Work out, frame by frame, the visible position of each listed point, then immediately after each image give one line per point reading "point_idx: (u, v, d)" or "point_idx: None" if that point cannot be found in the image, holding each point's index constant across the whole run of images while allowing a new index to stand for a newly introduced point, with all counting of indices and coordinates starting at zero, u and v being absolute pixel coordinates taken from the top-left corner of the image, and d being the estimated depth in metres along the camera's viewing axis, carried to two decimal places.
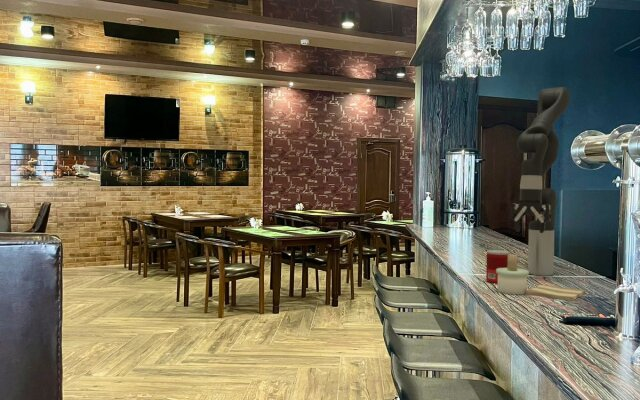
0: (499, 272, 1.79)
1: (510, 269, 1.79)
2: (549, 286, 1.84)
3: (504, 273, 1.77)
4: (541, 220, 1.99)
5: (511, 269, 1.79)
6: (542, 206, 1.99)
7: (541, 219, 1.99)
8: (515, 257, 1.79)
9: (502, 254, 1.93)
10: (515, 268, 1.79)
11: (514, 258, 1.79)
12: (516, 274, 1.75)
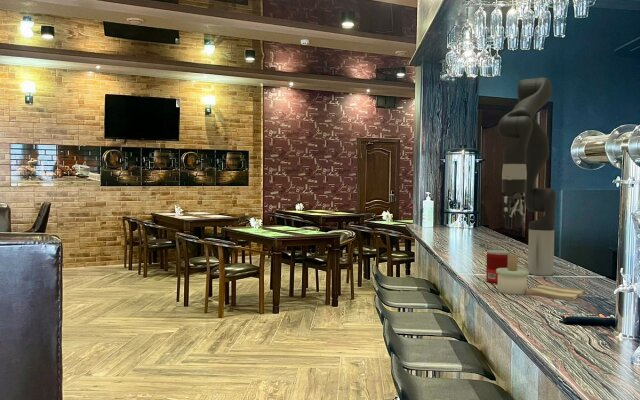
0: (499, 272, 1.79)
1: (510, 269, 1.79)
2: (549, 286, 1.84)
3: (504, 273, 1.77)
4: (522, 213, 1.82)
5: (511, 269, 1.79)
6: None
7: (522, 212, 1.82)
8: (515, 257, 1.79)
9: (502, 254, 1.93)
10: (515, 268, 1.79)
11: (514, 258, 1.79)
12: (516, 274, 1.75)
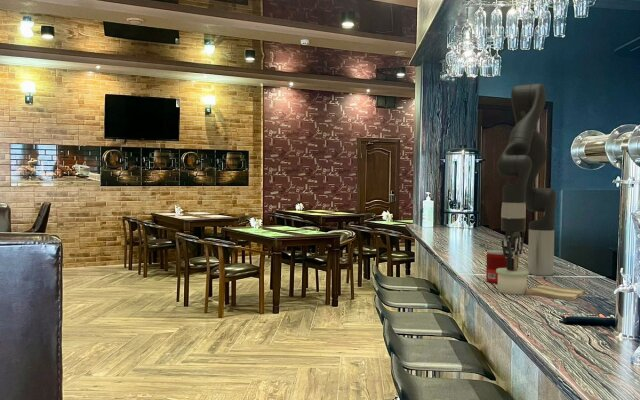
0: (499, 272, 1.79)
1: None
2: (549, 286, 1.84)
3: (504, 273, 1.77)
4: (518, 254, 1.81)
5: None
6: None
7: (518, 253, 1.81)
8: (515, 257, 1.79)
9: (502, 254, 1.93)
10: (515, 268, 1.79)
11: (514, 258, 1.79)
12: (516, 274, 1.75)
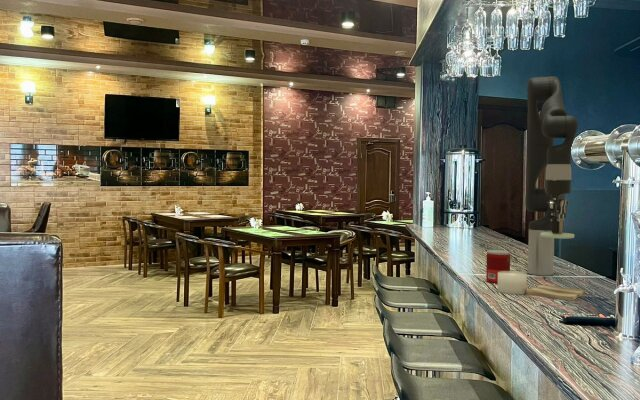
0: (544, 235, 1.75)
1: None
2: (549, 286, 1.84)
3: (550, 236, 1.73)
4: (563, 217, 1.77)
5: None
6: None
7: (563, 217, 1.77)
8: (560, 220, 1.75)
9: (502, 254, 1.93)
10: (560, 231, 1.75)
11: (559, 221, 1.75)
12: (562, 237, 1.72)
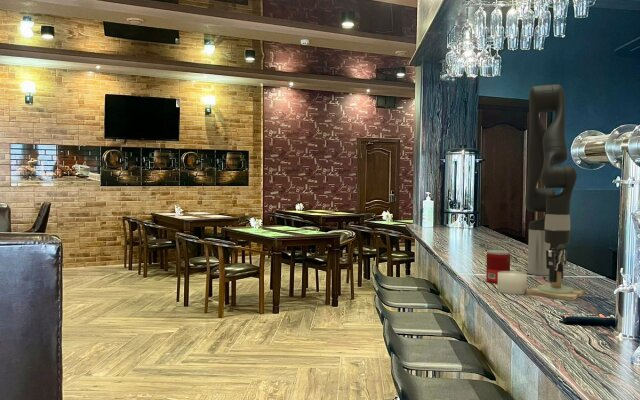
0: (543, 289, 1.76)
1: (554, 286, 1.76)
2: None
3: (548, 291, 1.74)
4: (563, 265, 1.79)
5: (555, 286, 1.76)
6: None
7: (563, 264, 1.79)
8: (559, 274, 1.76)
9: (502, 254, 1.93)
10: (559, 285, 1.76)
11: (558, 275, 1.76)
12: (561, 292, 1.72)
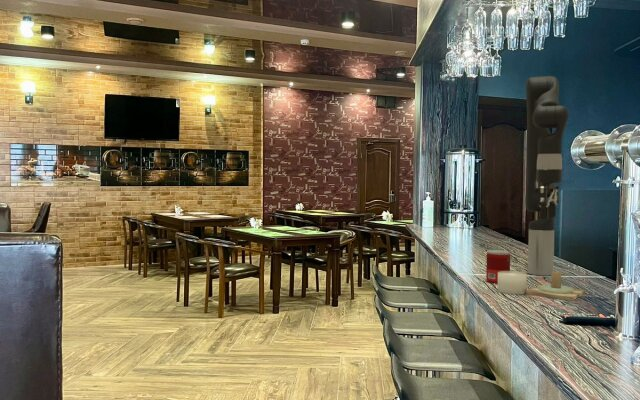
0: (543, 289, 1.76)
1: (554, 286, 1.76)
2: None
3: (548, 291, 1.74)
4: (556, 203, 1.81)
5: (555, 286, 1.76)
6: None
7: (556, 202, 1.81)
8: (559, 274, 1.76)
9: (502, 254, 1.93)
10: (559, 285, 1.76)
11: (558, 275, 1.76)
12: (561, 292, 1.72)
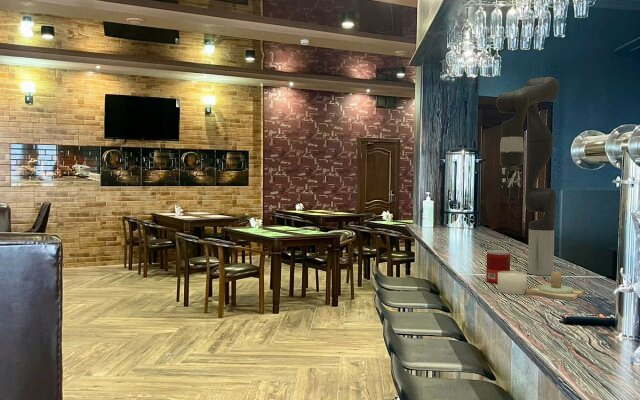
0: (543, 289, 1.76)
1: (554, 286, 1.76)
2: None
3: (548, 291, 1.74)
4: (519, 185, 1.90)
5: (555, 286, 1.76)
6: (517, 170, 1.91)
7: (519, 184, 1.90)
8: (559, 274, 1.76)
9: (502, 254, 1.93)
10: (559, 285, 1.76)
11: (558, 275, 1.76)
12: (561, 292, 1.72)
